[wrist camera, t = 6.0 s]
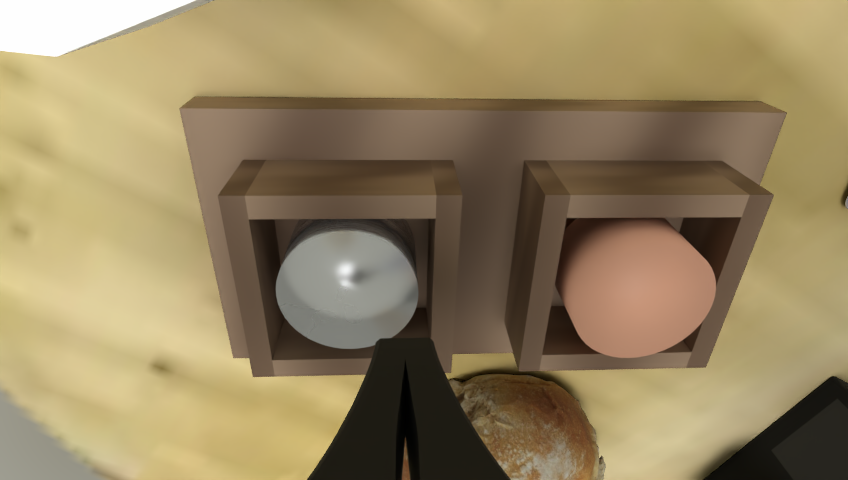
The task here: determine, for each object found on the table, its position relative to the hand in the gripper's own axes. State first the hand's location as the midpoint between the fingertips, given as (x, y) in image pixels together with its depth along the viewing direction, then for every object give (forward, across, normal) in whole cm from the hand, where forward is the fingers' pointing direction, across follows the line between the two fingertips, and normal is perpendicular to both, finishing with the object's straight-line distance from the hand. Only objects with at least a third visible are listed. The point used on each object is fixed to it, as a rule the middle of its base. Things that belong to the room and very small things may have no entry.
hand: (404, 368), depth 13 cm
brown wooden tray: (+9, -3, +1) cm, 10 cm away
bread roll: (+10, -5, +14) cm, 18 cm away
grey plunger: (+8, +2, +1) cm, 8 cm away
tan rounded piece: (+7, -8, +1) cm, 11 cm away
